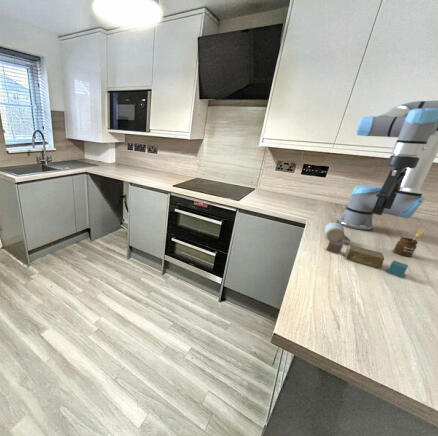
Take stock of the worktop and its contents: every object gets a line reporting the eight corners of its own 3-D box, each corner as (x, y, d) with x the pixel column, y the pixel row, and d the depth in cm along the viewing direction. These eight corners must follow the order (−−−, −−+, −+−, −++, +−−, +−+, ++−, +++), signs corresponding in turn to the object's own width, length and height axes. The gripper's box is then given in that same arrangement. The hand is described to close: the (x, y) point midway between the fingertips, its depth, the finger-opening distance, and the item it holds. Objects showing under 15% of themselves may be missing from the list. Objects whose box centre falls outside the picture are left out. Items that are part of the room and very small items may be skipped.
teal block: (389, 269, 91) (393, 260, 90) (403, 274, 88) (408, 265, 87) (386, 272, 89) (391, 263, 88) (401, 277, 86) (406, 268, 85)
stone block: (344, 253, 101) (348, 243, 100) (379, 263, 95) (384, 252, 93) (344, 259, 97) (349, 248, 95) (381, 269, 91) (387, 258, 89)
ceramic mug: (323, 239, 114) (328, 225, 111) (322, 234, 120) (327, 220, 118) (350, 246, 109) (357, 231, 106) (348, 240, 115) (354, 226, 112)
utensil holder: (389, 250, 107) (400, 225, 103) (403, 250, 107) (415, 226, 103) (401, 256, 102) (414, 231, 98) (416, 257, 102) (429, 232, 97)
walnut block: (329, 247, 106) (332, 239, 105) (340, 251, 103) (343, 243, 102) (326, 250, 104) (329, 241, 103) (337, 253, 101) (340, 245, 100)
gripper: (413, 158, 75) (386, 220, 83) (425, 155, 89) (401, 208, 96) (382, 155, 80) (359, 213, 88) (398, 153, 94) (377, 203, 102)
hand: (381, 211), depth 92 cm, fingers open, 13 cm apart
